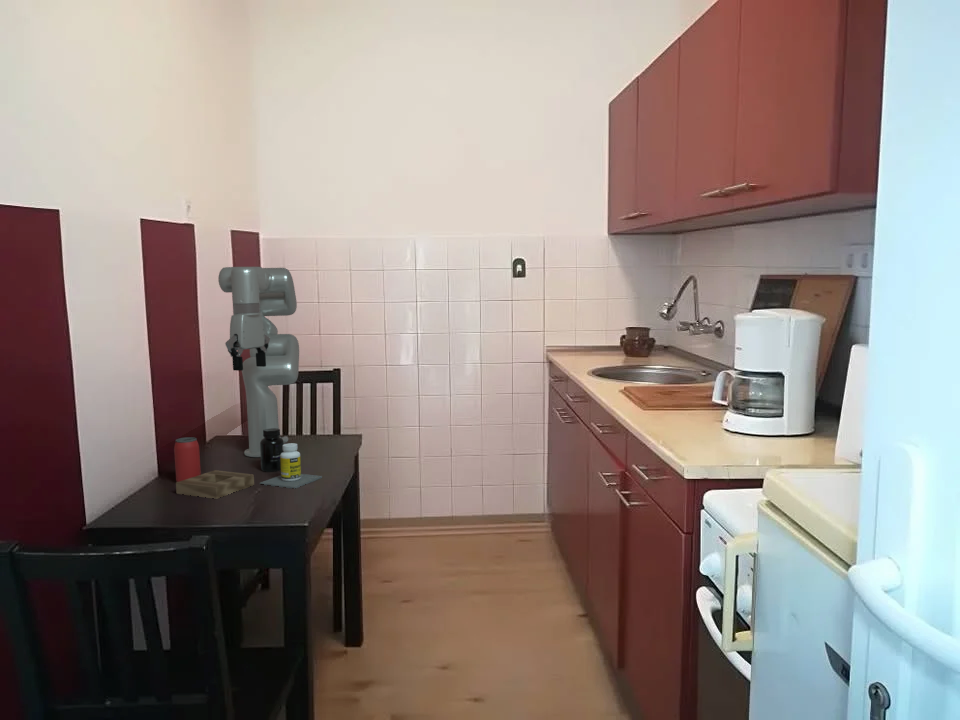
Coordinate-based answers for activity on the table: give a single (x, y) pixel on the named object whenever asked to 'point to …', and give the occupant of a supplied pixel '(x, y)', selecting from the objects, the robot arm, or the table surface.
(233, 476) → the holder
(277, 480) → the mat
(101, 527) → the table surface
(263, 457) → the supplement bottle
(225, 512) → the table surface
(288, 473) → the supplement bottle
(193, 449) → the beer can
